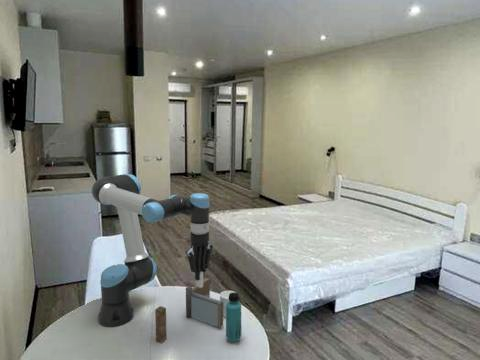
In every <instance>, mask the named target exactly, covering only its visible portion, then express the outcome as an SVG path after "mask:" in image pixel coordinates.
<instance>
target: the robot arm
mask: <svg viewBox="0 0 480 360" xmlns="http://www.w3.org/2000/svg"><path fill="white" fill-rule="evenodd" d="M141 192H142V184H141V182H140V180H139V178H137V177H136V176H135V175H134V174H130V173H129V174H126V173H124V174H123V173H122V174H119V175H118V174H117V175H112V176H111V175H110V176H102V177H100V178H98V179H97V180H95V182H93V185H92V187H91V196H92V198H93V199H94V200H95V201H96V202H97V203H99V204H102V205H105V206H111V205H112V206H114V207H116V209H117V213H118V214H117V215H118V219H119V223H120V229H121V233H122V234H121V235H122V239H123V244H124V245H123V246H124V249H125V255H126V258H124V261H123V263H124V264H122V263H120V264H114V265H110V266H108V267H107V268H105V269H104V270H102V272H101V274H100V290H101V291H100V292H101V305H100V309H99V310H100V311H99V313H98V323H99V324H100V325H101V326H102V327H107V328H108V327H109V328H110V327H111V328H113V327H119V326H123V325H125V324H127V323H129V322H130V321H131V320H132V319H133V318H134V316H135V313H134V311H135V310H134V308H133V306H132V303H131V300H130V292H132V291H133V290H136V289H138V288H140V287H142V286H145V285H147V284H149V283H150V282H153V280H154V279H155V277H156V276H157V273H158V272H157V270H158V269H157V264H156V261H154V259H153V258H152V257H150V254H148V253H147V252H146V251H145V246H144V245H145V244H144V241H143V236H142V229H141V225H140V219H139V215H140V216H141V217H142V218H143V220H144V221H145V222H146V223H150V224H151V223H157V222H160V221H163V220H167V219H169V218H170V219H171V218H174V217H177V216H181V215H182V216H183V215H185V216H187V217H190V219H189V220H190V229H189V231H190V243H191V245H190V249H189V250H187V251H186V252H185V254H186V255H187V258H188V263H189V267H190V271H191V272H192V273H194V277H195V278H194V279H195V286H197V287H199V288H202V287H203V280H204V279H205V273H206V272H207V270H208V269H209V264H210V261H211V254H212V250H213V248H214V245H212V244H209V241H210V206H211V205H210V204H211V203H210V196H209V195H208V194H206V193H199V192H195V193H193V194H191V195H190V196H185V195H181V194H173V195H170V196H169V197H168V198H165V199H162V200H160V199H159V200H158V199H154V198H151V197H148V196H145V195H142V193H141Z"/></svg>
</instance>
